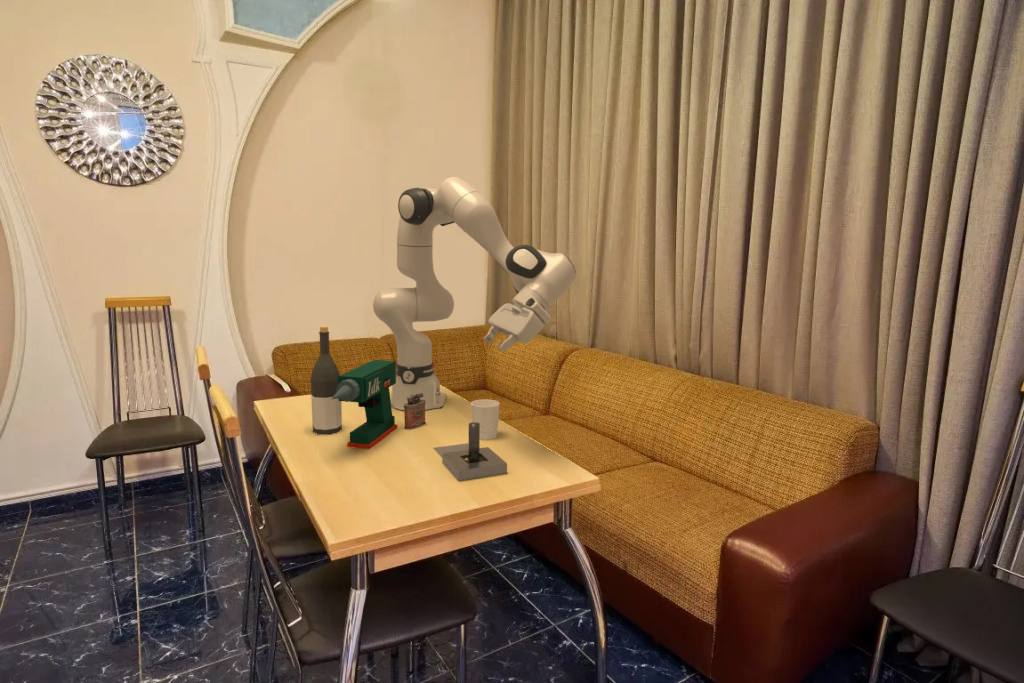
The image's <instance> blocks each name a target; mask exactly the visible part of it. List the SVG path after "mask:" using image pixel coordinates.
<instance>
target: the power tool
mask: <svg viewBox="0 0 1024 683" xmlns="http://www.w3.org/2000/svg"><path fill="white" fill-rule="evenodd" d="M396 364H397V363H396V361H395V360H384V359H383V360H380V359H373V360H371V361H369V362H367V363H364V364H362V365H360V366H357V367H356V368H353V369H350V370H348V371H347V372H344V373H343V374H340V375H339V376H338V385H337V389H336V392H337V393H336V394H335V395H334V396H333V398H332V399H339V401H341V402H345V403H357V405H358V407H359V408H364V412H365V419H366V421H365V422H364V423H362V424H360V425H359V426H358V427H356V428H354V429H353V430H352V431H350V432H349V441H348V442H347V443H346V447H347V448H353V447H354V448H357V449H367V450H371V449H372V448H374V447H375V446H376V445H377V444H379V443H380V442H381V441H382V440H384V439H385V438H386V437H387V436H389V435H390V434H392V433H393V432H394V431H395V430H396V429H398V424H396V422H395V420H396V418H395V415H393V410H392V409H393V408H392V405H391V393H390V387H392V385H394V384H396V377H397V374H396Z"/></svg>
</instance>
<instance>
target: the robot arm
mask: <svg viewBox="0 0 1024 683" xmlns="http://www.w3.org/2000/svg"><path fill="white" fill-rule="evenodd" d="M397 203H398V204H397V209H398V213H399V216H400V217H399V220H398V226H397V236H396V267H397V269H398V271H399V272H400V273H401V274H402V275H403V276H405V277H407V278H409V279H411V280H414V281H415V283H416V284H415V285H416V286H414V287H392V288H388V289H381V290H379V291H378V292H377V293H376V295H375V296H374V299H373V302H372V303H373V304H372V306H373V312H374V315H375V316H376V317H377V318H378V319H379V320H380V321H381V322H383V323H384V324H385V325H386V326H387V327H388V328H389V329H390V331H391V332H392V335H393V336H394V338H395V343H396V351H397V352H396V353H397V363H396V384H394V385H392V386H391V387H392V388H391V398H390V400H391V407H393V408H394V409H397V410H400V411H405V410H404V404H406V403H408V401H407V397H409V396H410V395H411V394H415V395H416V394H417V393H423V397H422V398H420V400H426V404H425V411H427V410H431V409H441V408H443V407H444V405H445V402H446V400H445V398H446V399H447V397H448V396H447V395H448V394H446V393H444V392H441V381H440V380H439V379H438V377H436V375H435V366H436V362H435V361H433V360H432V358H433V356H432V355H433V354H432V352H433V351H432V350H433V346H432V341H431V339H430V337H429V336H427V335H426V334H424V333H422V332H420V331H418V330H416V329H414V325H413V323H415V322H416V323H417V322H418V323H419V322H420V323H421V322H425V323H426V322H437V321H442V320H446V319H449V317H451V315H452V313H453V311H454V309H455V308H454V307H455V300H454V298H453V295H452V293H451V292H450V291H449V290H448V289H446V288H445V287H444V286H443V284H441V283H440V281H439V280H438V278H437V276H436V273H435V270H434V261H433V258H434V257H433V255H434V254H433V239H434V238H433V235H434V234H433V233H434V232H433V231H434V230H435V228H436V227H437V226H439V225H440V226H441V227H445V226H448V225H451V224H456V225H457V227H459V228H460V229H461V230H462V232H464V233H465V234H467V235H468V236H469V237H470V238H471V239H473V241H474V242H476V243H477V244H478V245H479V246H480V247H482V248H483V249H484V250H485V251H486V252H487V253H489V255H490V256H491V257H492V258H493V259H494V260H495V261H496V263H497V264H498V265H499V266H501V268H502V269H503V270H504V272H506V274H507V275H508V276H509V277H510V280H511V281H512V284H513V288H514V290H515V293H516V295H515V296H514V297H513V298H512V299H511V300H512V302H511V303H510V302H508V303H507V302H506V303H504V304H503V305H502V306H500V307H499V308H498V309H497V310H496V311H495V312H494V313H493V314H492V315H491V316H490V317H489V319H488V320H487V321H488V322H487V323H488V324H489V325H490V327H489V330H488V331H487V334H486V335H485V336H484V337H483V341H484V342H485V343H486V344H488V345H491V344H492V342H493V341H495V337H496V335H498V334H499V333H501V334H504V335H506V336H508V338H507V339H506V340H504V341H500V343H499V344H498V346H497V348H498V349H499V350H500V351H501V352H503V353H505V352H506V351H507V350H508V349H509V348H511V347H512V346H514V345H516V344H517V343H518V342H520V343H522V344H527V343H530V342H531V341H532V340H533V339H534V338H535V337H537V335H538V334H539V333H540V332H541V331H542V330H543V328H544V327H545V326H546V325H547V326H548V324H550V323H551V321H552V317H551V315H550V314H549V313H548V312H549V311H550V310H551V308H552V305H553V304H554V303H555V302H556V301H557V300H559V299H561V297H563V295H564V294H565V293H566V292H567V291H568V289H569V288H570V286H571V285H572V284H573V283H574V281H575V279H576V277H577V271H576V268H575V265H574V264H573V262H572V261H571V259H570V258H569V257H568V256H567V255H565V254H564V253H562V252H555V253H552V252H547V251H543V250H540V249H537V248H535V247H534V246H532V245H529V244H520V245H517V246H515V247H514V246H513V245H512V244H511V243H510V242H509V240H508V238H507V236H506V235H505V233H504V231H503V227H502V226H501V222H500V221H499V218H498V216H497V213H496V211H495V209H494V207H493V206H492V204H491V203H490V202H489V200H488V199H487V198H486V197H485V196H484V195H483V194H482V193H481V192H480V191H479V190H478V189H477V188H476V187H474V186H473V185H472V184H470V183H469V182H468V181H466V180H464V179H463V178H461V177H458V176H450V177H448V178H445V179H444V180H443V181H442V182H441V183H440V185H439V187H437V186H431V187H421V188H420V187H414V188H409V189H406V190H405V191H403V192H402V193H401V194H400V196H399V199H398V202H397ZM446 396H447V397H446ZM444 401H445V402H444ZM443 404H444V405H443ZM442 406H443V407H442ZM440 407H441V408H440Z"/></svg>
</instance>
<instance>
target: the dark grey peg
mask: <svg viewBox="0 0 1024 683" xmlns="http://www.w3.org/2000/svg"><path fill="white" fill-rule="evenodd" d="M480 441H481V440H480V424H479V423H477V422H472V421H471V422H469V423H468V443H469V462H468V463H475V462H479V449H480V448H481V447H480V443H481V442H480ZM468 463H467V464H468Z"/></svg>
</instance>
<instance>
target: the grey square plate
mask: <svg viewBox="0 0 1024 683" xmlns="http://www.w3.org/2000/svg"><path fill="white" fill-rule="evenodd" d="M433 450H434V451H435V452H436V453H437V454H438V456H440V458H442V453H448V452H455V451H463V450H469V442H468V443H461V444H459V443H458V444H451V445H445V446H437V447H433Z"/></svg>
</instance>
